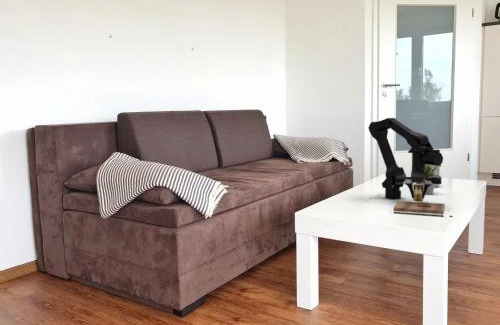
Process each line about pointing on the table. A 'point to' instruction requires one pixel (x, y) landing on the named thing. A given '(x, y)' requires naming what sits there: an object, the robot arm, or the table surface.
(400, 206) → the walnut board
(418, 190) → the brass peg
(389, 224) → the table surface
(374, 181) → the table surface
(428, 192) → the house plant
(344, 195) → the table surface
